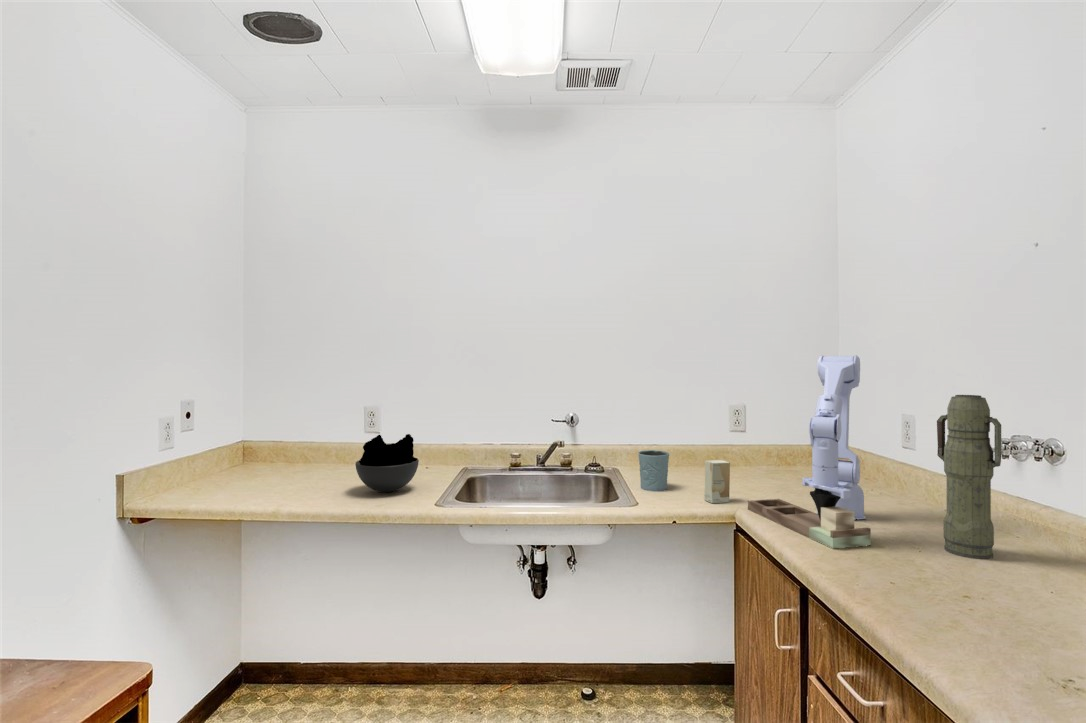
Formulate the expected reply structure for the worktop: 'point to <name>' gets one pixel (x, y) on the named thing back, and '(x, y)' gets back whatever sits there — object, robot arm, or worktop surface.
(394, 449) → the bowl of black rocks
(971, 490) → the thermos
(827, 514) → the maple block
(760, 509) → the track
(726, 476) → the skincare box
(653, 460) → the teal embossed cup
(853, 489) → the robot arm
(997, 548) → the worktop surface
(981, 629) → the worktop surface
